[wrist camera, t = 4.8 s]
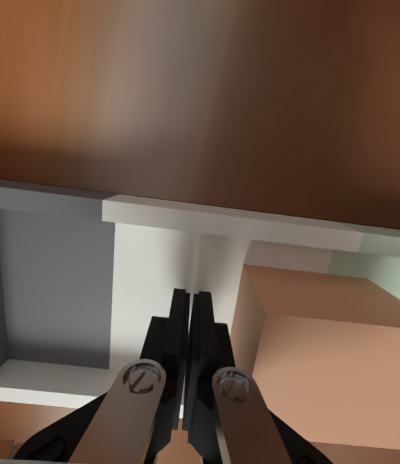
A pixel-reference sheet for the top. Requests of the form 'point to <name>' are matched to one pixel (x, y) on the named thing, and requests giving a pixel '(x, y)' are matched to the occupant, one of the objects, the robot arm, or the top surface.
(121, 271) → the track
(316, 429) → the terracotta block
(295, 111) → the top surface
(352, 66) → the top surface
